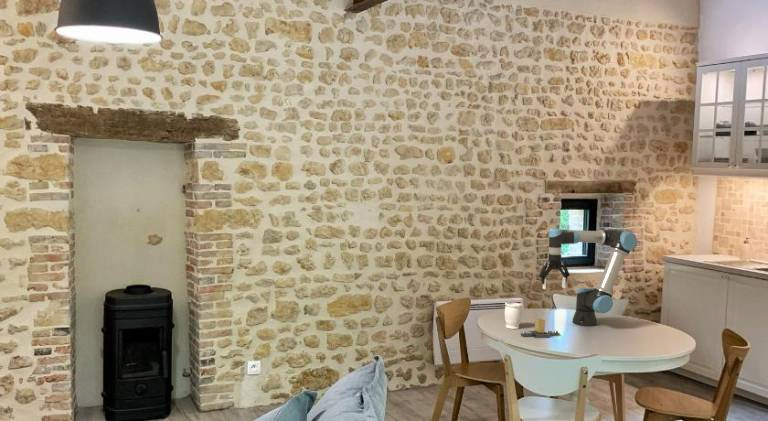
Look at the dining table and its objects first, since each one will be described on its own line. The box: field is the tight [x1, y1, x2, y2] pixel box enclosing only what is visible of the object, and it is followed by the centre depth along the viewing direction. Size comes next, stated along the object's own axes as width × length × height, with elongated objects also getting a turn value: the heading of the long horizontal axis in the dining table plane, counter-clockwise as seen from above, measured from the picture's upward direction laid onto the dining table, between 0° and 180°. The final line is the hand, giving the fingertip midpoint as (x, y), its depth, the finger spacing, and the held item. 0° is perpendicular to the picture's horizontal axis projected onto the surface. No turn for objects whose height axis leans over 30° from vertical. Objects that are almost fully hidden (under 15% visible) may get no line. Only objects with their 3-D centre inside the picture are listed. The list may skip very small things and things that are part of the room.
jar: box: [504, 301, 523, 330], centre depth 414 cm, size 11×10×15 cm
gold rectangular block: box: [534, 318, 546, 334], centre depth 396 cm, size 4×4×10 cm
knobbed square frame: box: [520, 330, 560, 339], centre depth 396 cm, size 24×9×2 cm, turn 106°
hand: (554, 288), depth 410 cm, fingers open, 13 cm apart
